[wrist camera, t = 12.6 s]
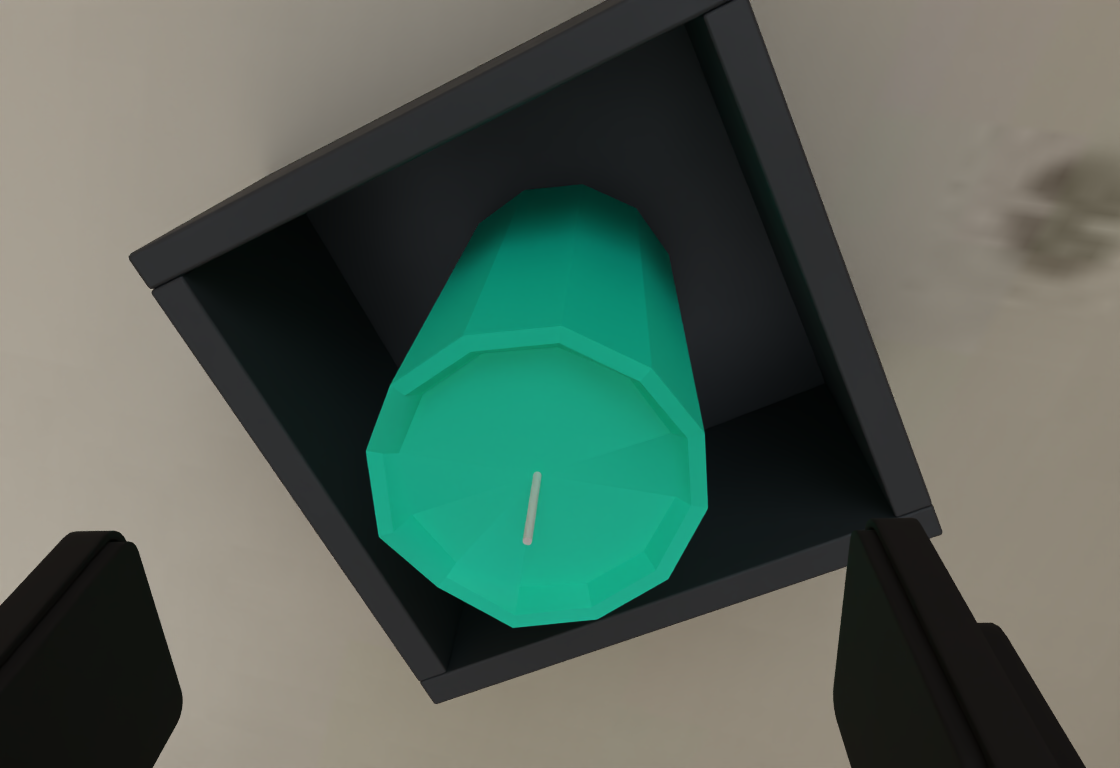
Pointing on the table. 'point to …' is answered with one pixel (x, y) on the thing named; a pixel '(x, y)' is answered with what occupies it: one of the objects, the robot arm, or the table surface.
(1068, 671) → the table surface
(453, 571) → the candle
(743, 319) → the bin
